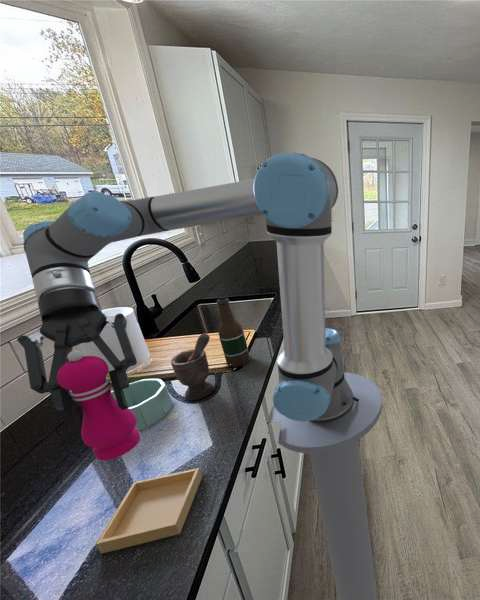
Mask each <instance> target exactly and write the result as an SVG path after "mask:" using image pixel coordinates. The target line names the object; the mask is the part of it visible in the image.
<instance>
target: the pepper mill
mask: <svg viewBox="0 0 480 600" xmlns="http://www.w3.org/2000/svg"><path fill="white" fill-rule="evenodd" d="M67 358H68V360H69V362H67V363H65V364H64V365H63V366H62V367H61V368H60V369H59V371H58V373H57V381H58V383H59V385H60V386H61V387H62V388H64V389H67V390H70V392H69V395H71V396H72V400H74V401H75V402H78V404H79V405H80V407H81V410H82V414H83V416H82V424H81V429H80V436H81V439H82V442H83V443H84V445H85V446H87V447H89V448H90V447H91V448H92V452H93V454H94V456H95V457H96V459H97V460H99V461H101V462H102V461H103V462H104V461H105V462H106V461H112V460H115V459H119V458H120V457H122V456H124V455H126V454H128V453H130V452H131V451H132V450H133V449H135V448H136V447H137V446H138V444H139V443H140V441H141V438H142V437H141V436H142V435H141V433H140V430H139V431H138V429H137V428H135V426H136V423H137V418H136V416H135V415H134V413H133V412H132V411H131V410H130V409H129V408H127V409H124V410H122V409H121V408H119V407H118V404H117V400H116V399H115V398H114V397H113V395H112V394H111V391H110V388H111V386H112V383H111V382H110V379H109V378H108V377H106V376H107V374H108V372H109V368H108V365H107V363H106V362H105V361H104V360H103V359H101V358H99V357H96V356H84V355H83V353H82V350H77V349H76V350H72V351H71V352H70V353H69V354H68V355H67Z"/></svg>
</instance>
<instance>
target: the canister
mask: <svg viewBox="0 0 480 600" xmlns="http://www.w3.org/2000/svg"><path fill="white" fill-rule="evenodd" d="M101 311H102V313H103V314H105V315H106V316H116V315H117V314H123V315H124V317H125V319H126V320H127V324H126V332H127V335H128V338H129V341H130V343H131V346H132V349H133V352H134V355H135V357H136V360H137V364H136V365H134V366H130V367H129V368H128V369H127V370H126V372H128V371H130V370H132V369H134V368H136V367H138V366H139V365H141V364H143V363H144V362H146V361H147V360H148V359H149V357H150V355H151V353H150V350H149V348H148V345H147V342H146V340H145V337H144V335H143V332H142V330H141V327H140V324H139V322H138V319H137V316H136V314H135V311H134V308H132V307H129V306H128V307H127V306H122V307H120V306H119V307H112V308H105V309H101ZM99 336H100V337H101V338H102V339H103V341H104V342H105V343H106V344H107V346H108V347H109V348H110V349H111V351H112V352H113V353H114V354H115V356H116V357H117V358H118V359H119V361H122V360H123V359H125V357H124V354H123V351H122V348H121V346H120V343H119V340H118V337H117V334H116V331H115V328H112V327H111V325H110V324H109V323H107V324H106V326H105V327H104V329H103V330H102V332H101V333H100V335H99ZM78 347H79V348H80V351H81V352H82V353H83V356H96V357H99V358H101V359H103V360H104V361H105V362H106V363H107V365H108V368H109V371H112V370H114V368H113V366H112V365H111V364H110V363H109V361H108V360H107V359H106V357H105V356H104V355H103V354H102V352H101V351H100V350H99V349H98V347H97V346H96V345H95V344H94V342H93V341H92V342H89V343H81V344H79V345H78ZM152 361H153V359H152V357H151V359H150V360H149V362H147V363H146V364H145V365H144V366H142V367H143V368H142V369H141V370H143V369H145V368H146V367H147V366H149V365H150V364H151V363H152ZM147 364H148V365H147ZM138 369H139V368H138ZM141 370H140V371H141ZM138 372H139V371H137V369H136V370H134V371H132V372H129V373H127V377H130V376H132V375H134V374H135V373H136V374H137V373H138Z"/></svg>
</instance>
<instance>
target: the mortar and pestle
mask: <svg viewBox="0 0 480 600" xmlns="http://www.w3.org/2000/svg"><path fill="white" fill-rule="evenodd" d="M210 338H211V337H210V335H209V334H207V333H202V334H200V335H199V336H198V338H197V340H196V343H195V346H194V348H193V349H189V350H183V351H181V352H179V353H177V354H176V355H174V356H173V357H172V358H171V360H170V364H171V367H172V370H173V372H174V375H175V378H176V379H177V380H178V381H179V382H180V384H181V385H182V386H186V387H187V389H186V390H185V393H184V397H185V400H187V401H192V402H193V401H198V400H201V399H203V398H205V397H206V396H208V395H211V394H212V393H213V391H214V387H213V385H212V383H211V382H208V381H206V379H207V378H208V377H209V371H210V367H209V366H210V365H209V362H208V358H207V353H206V351H205V348H206V347H207V345H208V344H209V342H210Z"/></svg>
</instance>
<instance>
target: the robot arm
mask: <svg viewBox="0 0 480 600" xmlns="http://www.w3.org/2000/svg"><path fill="white" fill-rule="evenodd" d="M339 191H340V188H339V183H338V180H337V177H336V175H335V172H334V171H333V170H332V169H331V167H330V166H329V165H327V164H326V163H325V162H323V161H322V160H319V159H317V158H314V157H310V156H309V155H306V154H305V153H298V152H284V153H278V154H275V155H273V156H270V157H269V158H267V159H266V160H265V161H264V162H263V163H262V164H261V165H260V166H259V168H258V170H257V171H256V174H255V177H254V178H251V179H246V180H241V181H235V182H229V183H224V184H217V185H212V186H205V187H199V188H194V189H189V190H183V191H178V192H173V193H166V194H160V195H156V196H155V195H154V196H148V197H142V198H136V199H129V200H128V199H127V200H119V199H117V197H114V196H112V195H110V194H104V193H102V192H101V191H90V192H87V193H85V194H83V195H81V196H80V197H79V198H78V199H75V200H74V201H73V202H71V204H70V205H69V206H68V207H67V209H65V210H64V212H62V213H61V214H60V215H59V216H58V217H57V218H56V219H55V220H43V221H39V222H37V223H35V224H29V225H28V226H27V227H25V229H24V230H23V233H22V238H23V243H22V245H23V251H24V253H25V256H26V261H27V263H28V267H29V271H30V275H31V278H32V284H33V288H34V293H35V297H36V300H37V306H38V310H39V314H40V319H41V326H40V328H39V331H37V332H35V333H32V334H30V335H26V334H23V335H20V336H18V337H17V339H16V340H17V342H18V343H19V345H21V346H22V347H23V349H24V350H23V351H24V356H25V361H26V368H27V374H28V381H29V387H30V389H31V390H33V391H34V392H36V393H38V394H40V395H41V394H45V393H50V396H51V401H52V407H54V408H55V410H58V411H63V412H64V415H65V420H66V424H67V426H69V427H71V428H73V429H76V428H79V427H82V424H81V421H80V416H79V412H78V409H77V405H76V401H74V400H72V396H71V395H69V392H70V390H67V389H64V388H62V387H61V386H60V385H59V383H58V381H57V373H58V371H59V369H60V368H61V367H62V366H63V365H64V364H65V363H67V362H69V361H70V360H68V358H67V355H68V354H69V353H70V352H71V351H73V347H77V346H79V344H81V343H89V342H92V341H93V342H94V344H95V345H96V346H97V347H98V349H99V350H100V351H101V352H102V354H103V355H104V356H105V357H106V359H107V360H108V361H109V363H110V364H111V365H112V366H113V368H114V370H112V371H109V375H110V379H111V382H112V386H113V390H114V393H115V397H116V400H117V404H118V407H119V408H121V409H122V410H124V409H127V408H128V406H127V402H126V399H125V396H124V392H123V389H125V388H128V387H129V385H130V383H131V382H130V380H129V376H127V373H126V370H127V369H128V368H129V367H130V366H134V365H136V364H137V360H136V357H135V355H134V352H133V349H132V346H131V343H130V341H129V338H128V335H127V332H126V324H127V320H126V319H125V317H124V315H123V314H117V315H116V316H106V315H105V314H103V313H102V311H101V310H102V307H101V305H100V301H99V298H98V294H97V290H96V288H95V283H94V280H93V277H92V274H91V271H90V267H89V261H90V260H91V259H92V258H93V257H95V256H96V255H98V254H99V253H100V252H101V251H102V250H103V249H104V248H106V247H107V246H108V245H109V244H112V243H117V242H121V241H125V240H129V239H134V238H137V237H143V236H148V235H153V234H158V233H164V232H170V231H176V230H182V229H187V228H192V227H198V226H199V227H200V226H204V225H211V224H218V223H222V222H228V221H236V220H240V219H247V218H254V217H259V216H264V217H265V224H266V233H267V235H268V236H270V237H271V238H272V239H273V240H274V241H275V242H276V251H277V254H276V255H277V266H278V267H277V268H278V279H279V297H280V308H281V309H280V310H281V322H282V336H283V351H282V352H281V353H280V354H279V355H278V358H277V371H278V384H277V386H276V387H275V389H274V391H273V395H272V403H273V405H274V406H275V408H276V409H277V411H278V412H279V413H280V414H282V415H284V416H286V417H287V418H289V419H291V420H295V421H310V422H315V423H325V422H330V421H334V420H336V419H338V418H340V417H342V416H344V415H345V414H346V413H348V412H349V410H350V409H351V408H352V406H353V403H354V401H357V402H359V399H358V398H355V397H354V396H353V392H352V389H351V388H350V386H349V384H348V382H347V380H346V379H345V376H344V372H345V369H344V362H343V354H342V346H341V338H340V334H339V332H338V331H337V330H336V329H333V328H328V327H326V298H325V297H326V296H325V295H326V294H325V293H326V292H325V289H326V288H325V241H326V240H327V239H329V237H331V236H332V234H333V232H332V231H333V230H332V229H333V228H332V227H333V225H332V224H333V223H332V222H333V221H332V220H333V219H332V218H333V217H332V213H333V211H332V210H333V208H334V206H335V205H336V203H337V200H338V198H339V193H340V192H339ZM107 323H109V324H110V325H111V327H112V328H115V331H116V334H117V337H118V340H119V343H120V346H121V348H122V351H123V354H124V357H125V359H123V360H122V361H119V359H118V358H117V357H116V356H115V354H114V353H113V352H112V351H111V349H110V348H109V347H108V346H107V344H106V343H105V342H104V341H103V339H102V338H101V337H100V336H99V335H100V333H101V332H102V330H103V329H104V327H105V326H106V324H107ZM44 339H48V340H49V341H52V342H53V348H54V351H53V355H52V356H53V357H52V362H51V366H50V373H49V378H47V373H46V367H45V361H44V355H43V350H42V349H41V348H42V347H43V345H44V342H43V340H44Z"/></svg>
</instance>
